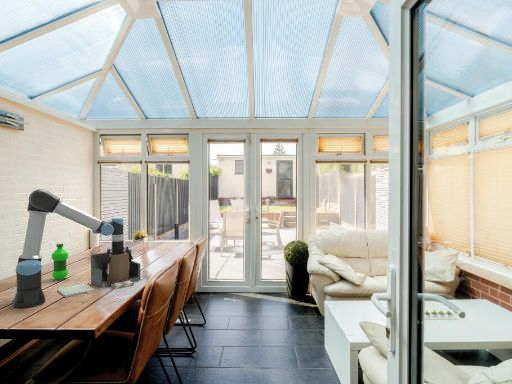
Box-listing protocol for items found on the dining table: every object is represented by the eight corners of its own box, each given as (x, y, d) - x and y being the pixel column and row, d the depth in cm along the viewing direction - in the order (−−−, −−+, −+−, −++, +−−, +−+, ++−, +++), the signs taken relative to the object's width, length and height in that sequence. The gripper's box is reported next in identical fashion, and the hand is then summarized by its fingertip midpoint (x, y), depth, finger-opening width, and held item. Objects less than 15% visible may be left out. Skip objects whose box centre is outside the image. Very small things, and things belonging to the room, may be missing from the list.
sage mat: (65, 297, 199) (65, 295, 199) (56, 290, 212) (56, 289, 212) (95, 291, 211) (95, 289, 211) (85, 285, 224) (85, 283, 224)
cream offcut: (114, 289, 212) (114, 286, 212) (111, 286, 218) (111, 283, 218) (133, 285, 220) (133, 282, 220) (129, 283, 226) (129, 280, 226)
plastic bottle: (61, 281, 235) (60, 245, 235) (48, 280, 237) (47, 245, 237) (71, 277, 245) (71, 243, 245) (59, 276, 247) (58, 242, 247)
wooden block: (129, 281, 232) (128, 253, 232) (119, 285, 223) (118, 255, 223) (117, 280, 236) (117, 252, 235) (106, 284, 226) (106, 254, 226)
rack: (101, 289, 214) (101, 258, 214) (91, 284, 228) (90, 254, 227) (142, 281, 233) (142, 252, 233) (130, 276, 247) (130, 249, 247)
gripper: (100, 243, 218) (101, 276, 218) (137, 239, 235) (138, 269, 235) (96, 242, 223) (97, 274, 223) (133, 238, 240) (133, 267, 241)
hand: (118, 271), depth 229 cm, fingers closed on wooden block, 13 cm apart
